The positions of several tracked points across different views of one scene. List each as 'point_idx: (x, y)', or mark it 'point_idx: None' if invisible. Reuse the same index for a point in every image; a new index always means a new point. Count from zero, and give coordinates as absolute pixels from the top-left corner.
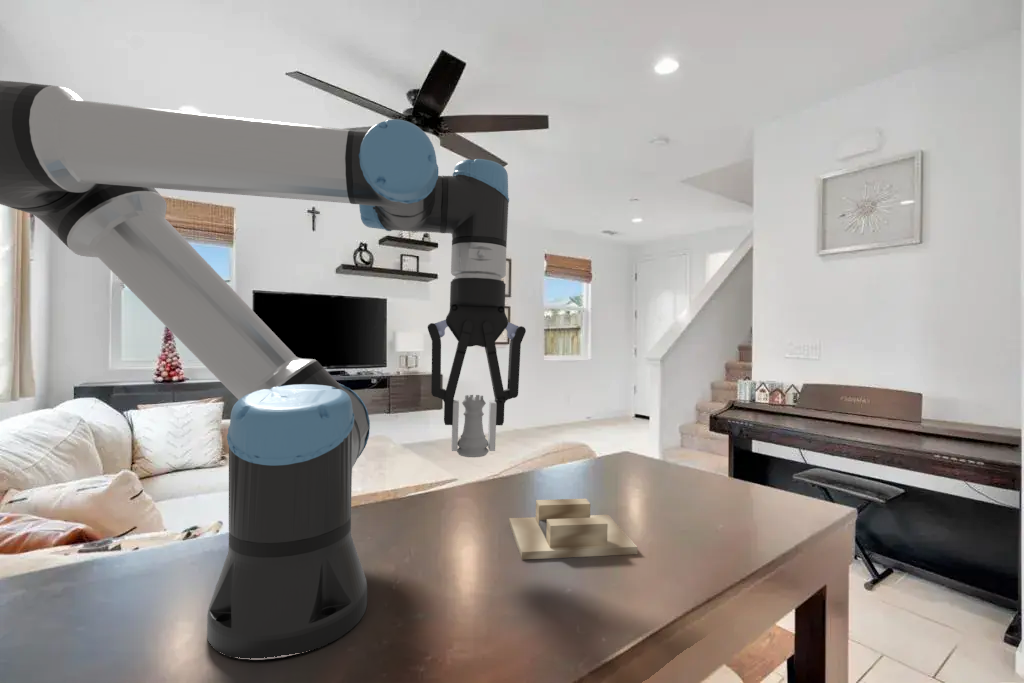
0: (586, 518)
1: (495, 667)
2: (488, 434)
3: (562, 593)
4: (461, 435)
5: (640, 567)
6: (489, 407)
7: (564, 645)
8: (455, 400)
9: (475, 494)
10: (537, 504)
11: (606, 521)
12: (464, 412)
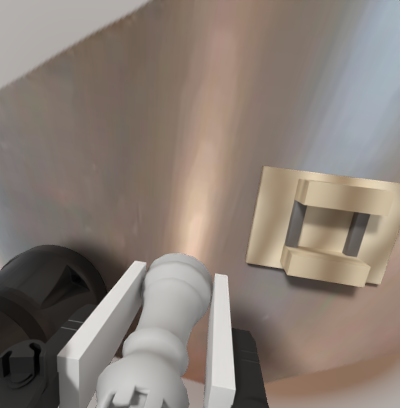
0: (346, 265)
1: (185, 373)
2: (213, 299)
3: (258, 320)
4: (142, 304)
5: (356, 303)
6: (209, 375)
7: None
8: (67, 371)
9: (248, 15)
10: (305, 193)
11: (394, 208)
12: (124, 348)
